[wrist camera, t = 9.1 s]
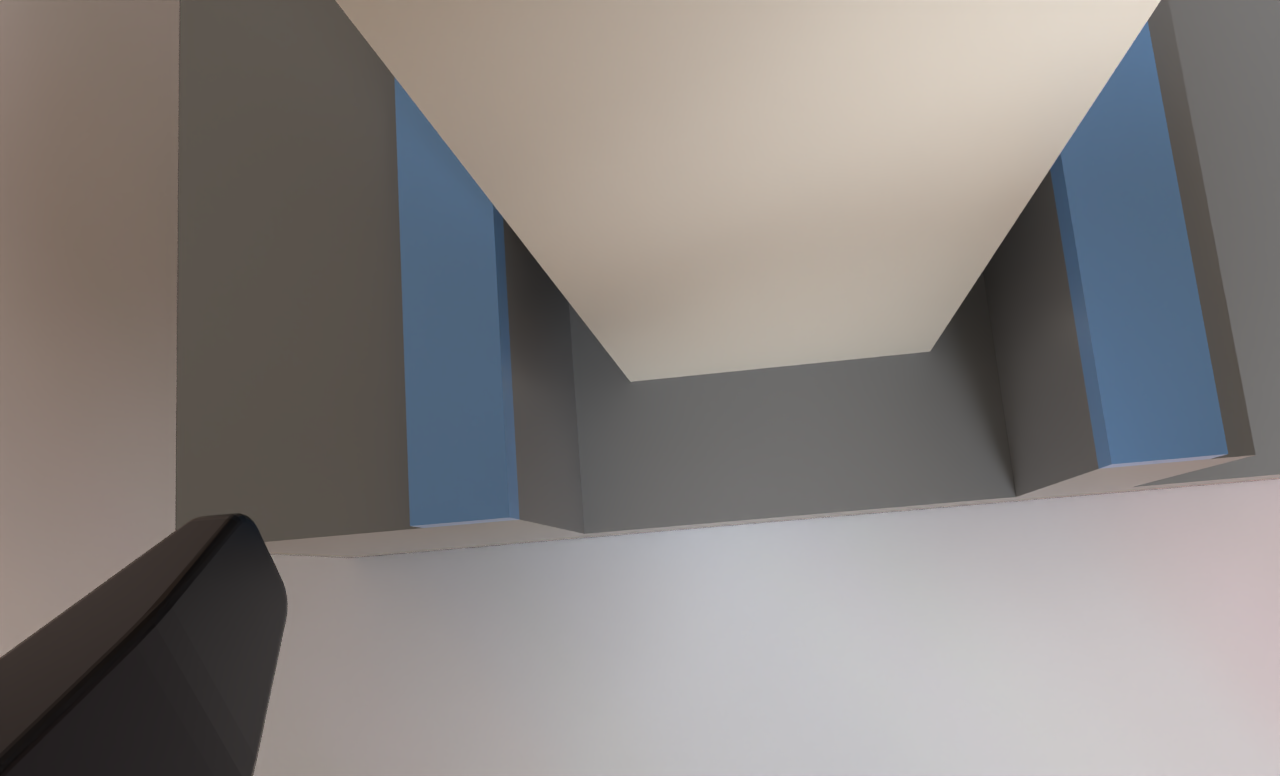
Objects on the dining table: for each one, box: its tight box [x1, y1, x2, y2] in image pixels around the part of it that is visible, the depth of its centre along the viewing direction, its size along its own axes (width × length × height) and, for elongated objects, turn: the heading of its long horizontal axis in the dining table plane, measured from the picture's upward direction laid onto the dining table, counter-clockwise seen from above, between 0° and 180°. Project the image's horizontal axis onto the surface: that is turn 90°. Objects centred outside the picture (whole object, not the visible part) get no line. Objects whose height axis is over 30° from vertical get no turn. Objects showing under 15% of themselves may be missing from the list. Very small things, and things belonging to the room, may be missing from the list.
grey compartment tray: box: [176, 0, 1280, 558], centre depth 13 cm, size 20×9×5 cm, turn 94°
